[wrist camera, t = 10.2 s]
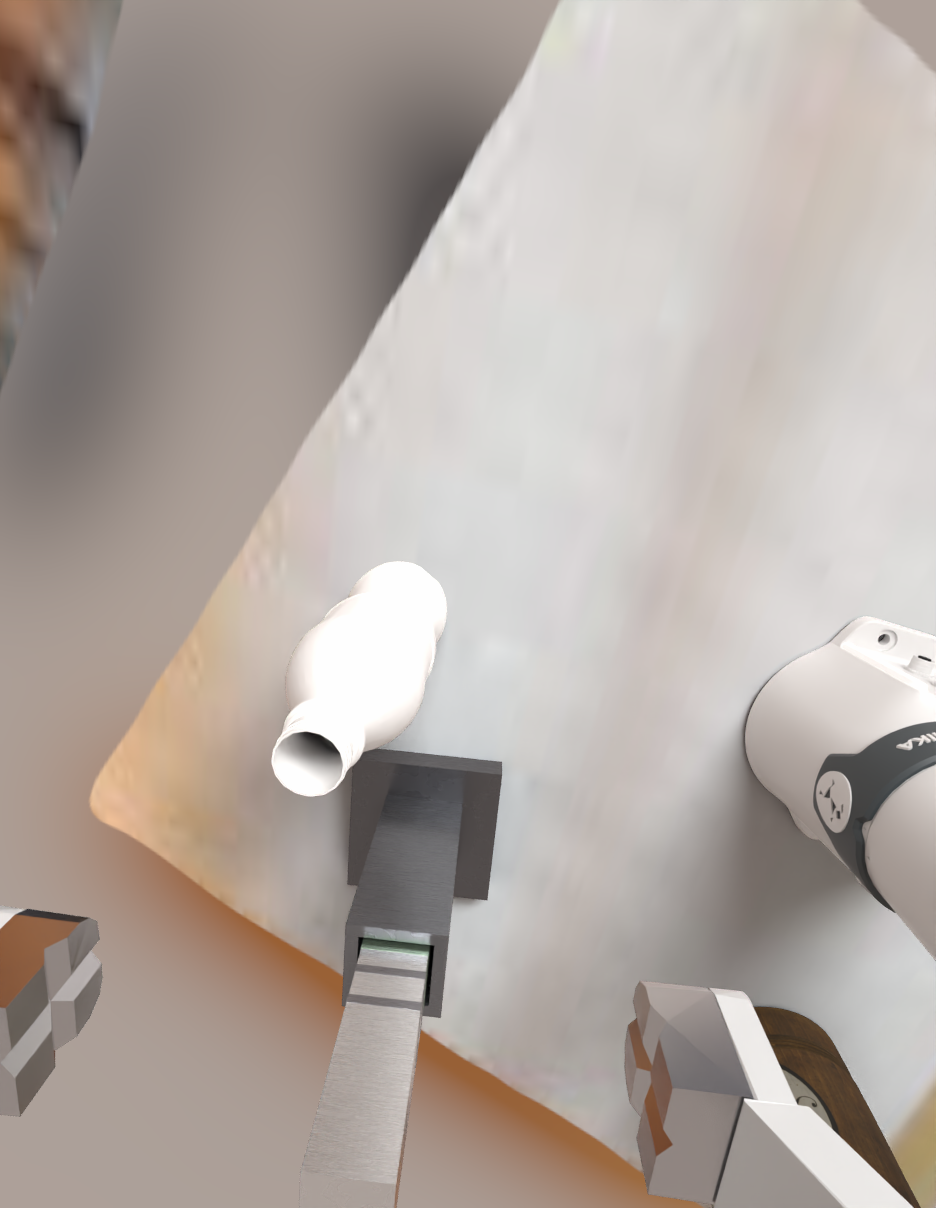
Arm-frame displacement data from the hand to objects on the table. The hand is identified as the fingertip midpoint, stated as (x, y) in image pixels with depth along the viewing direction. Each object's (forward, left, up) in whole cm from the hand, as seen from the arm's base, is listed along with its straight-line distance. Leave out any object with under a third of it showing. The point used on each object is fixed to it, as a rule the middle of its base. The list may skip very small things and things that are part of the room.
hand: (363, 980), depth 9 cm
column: (+2, +24, -31) cm, 39 cm away
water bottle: (+5, +5, -39) cm, 40 cm away
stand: (+2, +24, -39) cm, 46 cm away
